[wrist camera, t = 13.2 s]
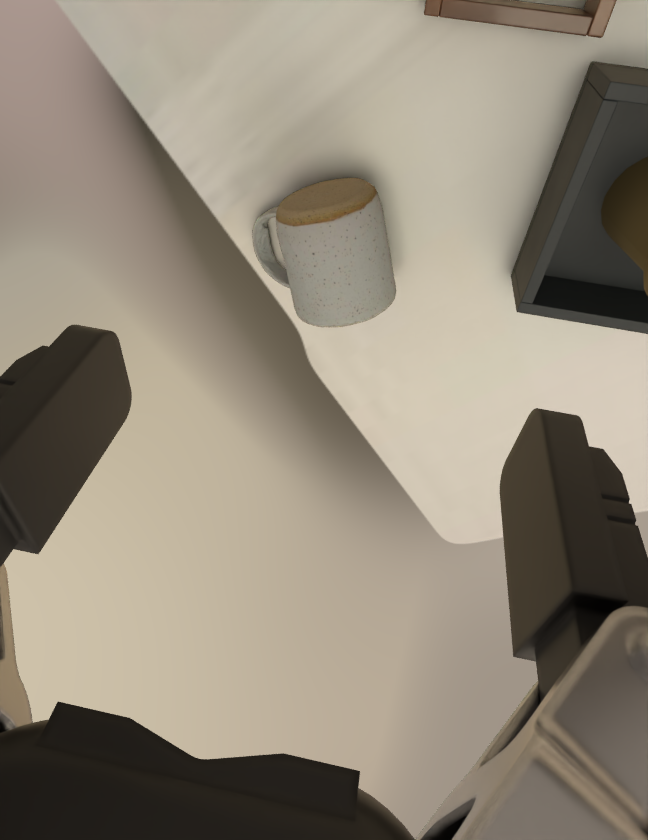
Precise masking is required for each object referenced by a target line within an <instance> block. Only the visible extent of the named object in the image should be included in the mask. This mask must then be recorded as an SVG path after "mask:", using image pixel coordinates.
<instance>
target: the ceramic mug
mask: <svg viewBox="0 0 648 840" xmlns="http://www.w3.org/2000/svg"><path fill="white" fill-rule="evenodd" d="M273 217H276V223H277V235H278V239H279V244H280V247H281V251H282V254H283V257H284V262H285V266H286V269H285V268H284V267H283V266H282V265H281V264H280V263H279V262H278V261H277V260H276V259H275V256H274V255H273V252H272V249H271V245H270V239H269V229H268V226H267V224H268V221H269V219H270V218H273ZM252 238H253V246H254V250H255V253H256V256H257V258H258V261H259V262H260V264H261V266H262V267H263V269H264V270H265V271H266V272H267V274H268V275H269V276H271V277H272V278H273V279H274V280H275V281H277V282H278V283H280V284H282V285H284V286H286V287H288V288H290V289H291V294H292V298H293V303H294V307H295V310H296V313H297V315H298V317H299V318H300V319H301V320H302V321H304V322H306V323H308V324H310V325H314V326H318V327H343V326H348V325H353V324H357V323H361V322H364V321H367V320H369V319H371V318H374V317H375V316H377V315H378V314H380V313H382V312H383V311H384V310H386V309H387V308H388V307H389V306H390V305H391V304H392V302H393V300H394V299H395V295H396V285H395V279H394V274H393V268H392V262H391V256H390V249H389V244H388V239H387V233H386V226H385V220H384V214H383V209H382V205H381V202H380V199H379V196H378V193H377V191H376V189H375V187H374V186H373V185H372V184H370V183H368V182H367V181H365V180H363V179H358V178H342V179H334V180H329V181H324V182H320V183H316V184H313V185H310V186H307V187H305V188H302V189H300V190H298V191H296V192H294V193H292V194H291V195H289V196H287V197H286V198H285V199H284V200H283V201H282V202H281V203H280V205H279V206H278V207H275V208H272V209H270V210H269V211H267V212H266V213H264V214H262V215H261V216H260V217H259V218H258V219H257V220H256V222H255V224H254V227H253V231H252Z"/></svg>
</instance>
